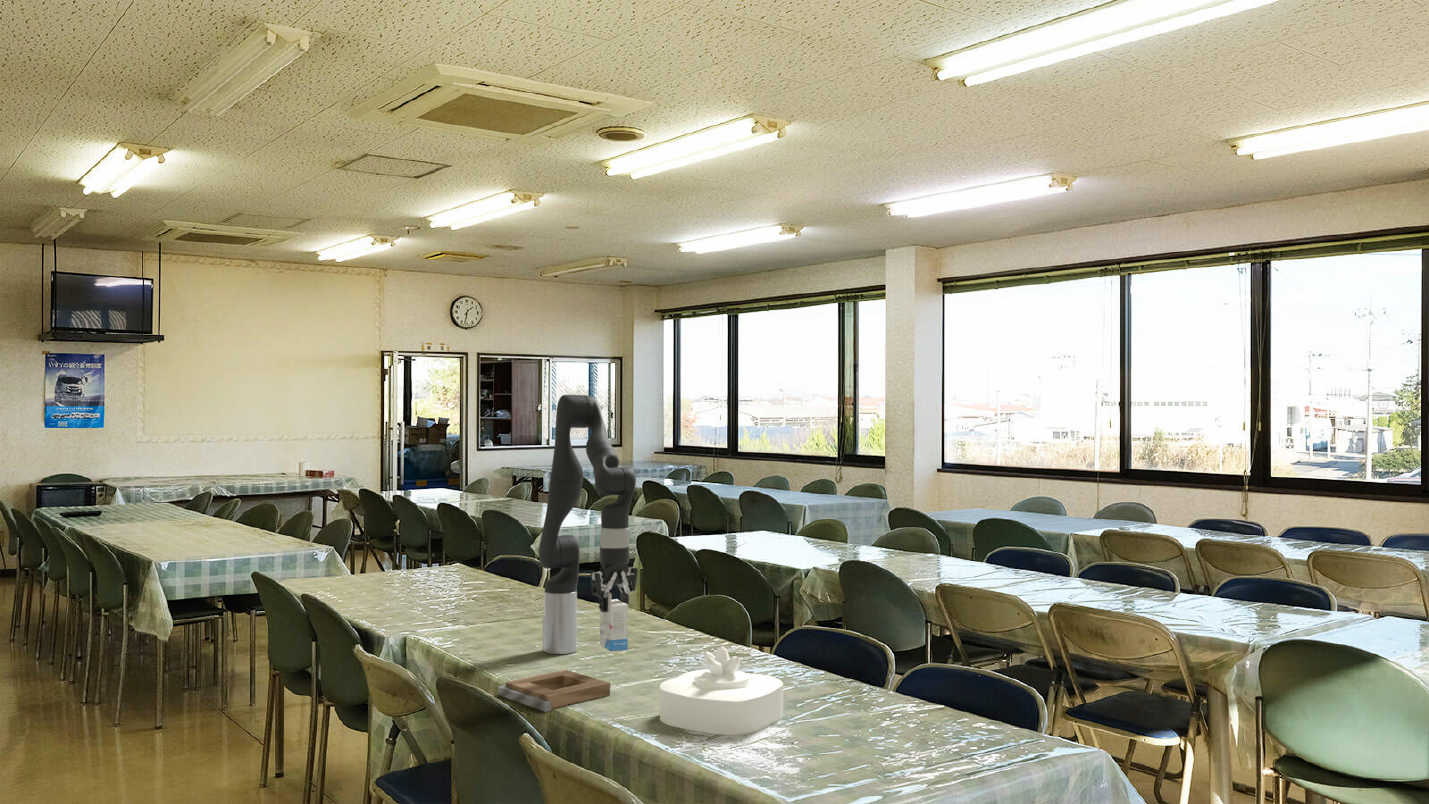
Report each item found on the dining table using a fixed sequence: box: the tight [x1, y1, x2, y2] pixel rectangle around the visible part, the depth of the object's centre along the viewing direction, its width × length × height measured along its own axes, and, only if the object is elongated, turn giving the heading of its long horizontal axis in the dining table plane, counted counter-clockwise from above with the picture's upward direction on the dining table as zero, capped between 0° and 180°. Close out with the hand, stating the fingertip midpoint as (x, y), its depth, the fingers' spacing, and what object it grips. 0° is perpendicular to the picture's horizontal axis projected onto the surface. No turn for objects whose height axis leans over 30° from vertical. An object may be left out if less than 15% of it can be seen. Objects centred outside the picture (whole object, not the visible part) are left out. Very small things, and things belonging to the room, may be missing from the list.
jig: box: [497, 669, 611, 713], centre depth 253 cm, size 20×20×3 cm
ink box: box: [599, 591, 629, 652], centre depth 268 cm, size 8×5×15 cm, turn 26°
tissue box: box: [659, 645, 784, 736], centre depth 236 cm, size 25×25×16 cm
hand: (613, 609), depth 268 cm, fingers closed on ink box, 6 cm apart
